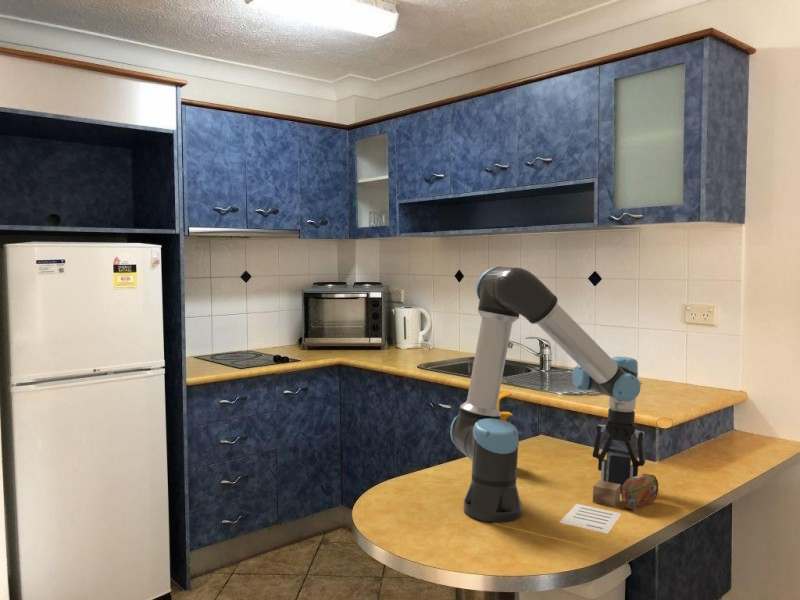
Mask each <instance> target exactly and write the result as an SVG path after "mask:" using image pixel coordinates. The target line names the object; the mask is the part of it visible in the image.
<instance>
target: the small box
mask: <svg viewBox="0 0 800 600" xmlns="http://www.w3.org/2000/svg"><path fill="white" fill-rule="evenodd" d="M606 460H607V462H606V478H605V481H606V482H611V483H616V484H621V489H620V492H622V487H623V484H624V483H625V481H626V480H627V479H629V478H630V466H631V465H632V461H631V456H630V455H629V452H628V449H627V447H626V448H625V447H617V446H612V445H611V446H610V448H609V449H608V451H607V453H606Z"/></svg>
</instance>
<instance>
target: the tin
mask: <svg viewBox="0 0 800 600" xmlns="http://www.w3.org/2000/svg"><path fill="white" fill-rule="evenodd" d="M658 492H659V482H658V479H657V477H656V476H655V475H654V474H650V473H649V474H648V473H641V474H638V475H637V476H635V477H632V478H629V479H627V480H626V481H625V483H624V484H623V487H622V491H621V503H622V505H623V507H624V508H626V509H629V510H631V511H637V510H639V509H641V508H644V507H647V506H650V505H653V504H654V502H655V501H656V500H657V497H658Z"/></svg>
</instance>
